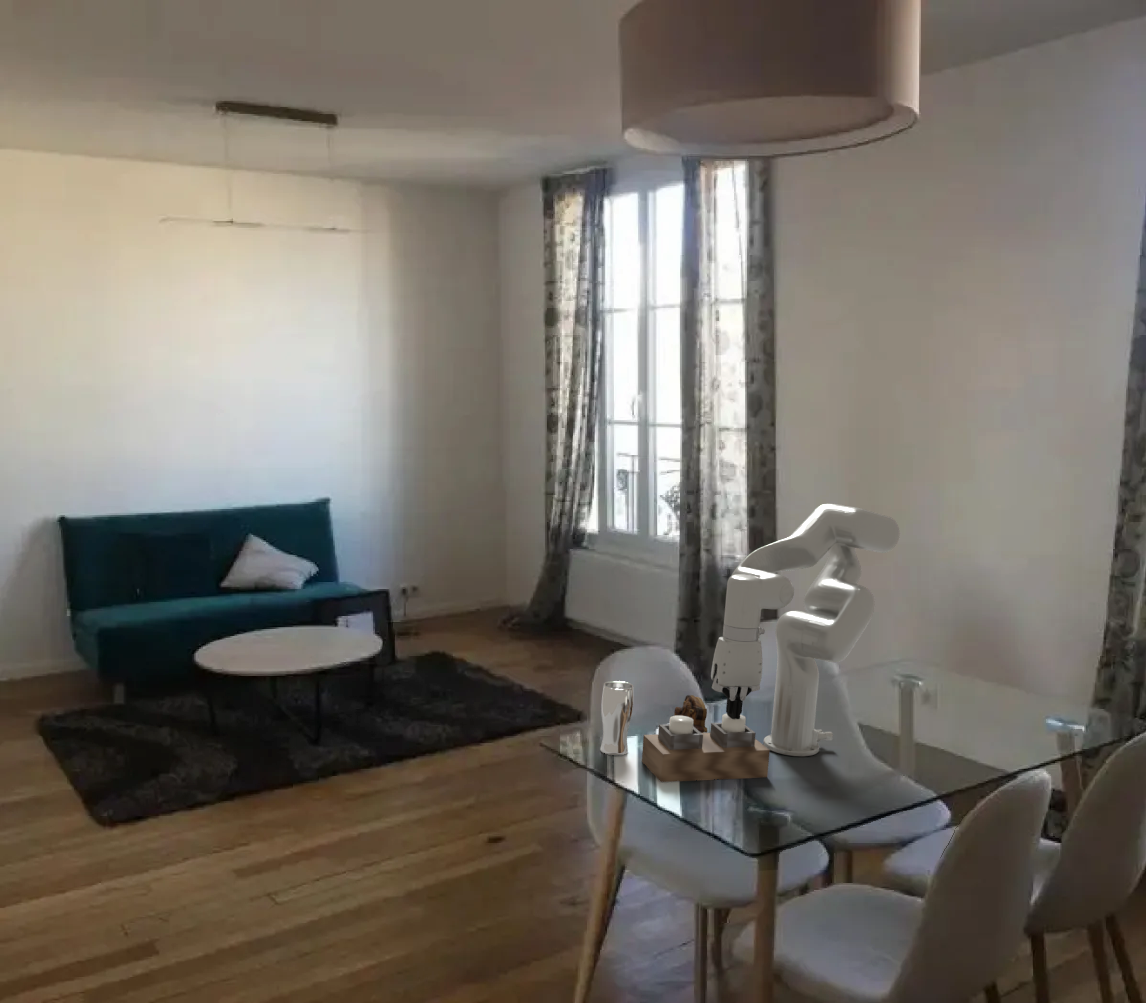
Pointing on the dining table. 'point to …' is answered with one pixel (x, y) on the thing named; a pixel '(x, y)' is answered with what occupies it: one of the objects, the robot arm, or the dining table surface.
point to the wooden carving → (693, 712)
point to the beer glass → (616, 716)
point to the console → (705, 755)
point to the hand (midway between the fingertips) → (733, 717)
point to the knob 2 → (733, 724)
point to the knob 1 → (681, 725)
